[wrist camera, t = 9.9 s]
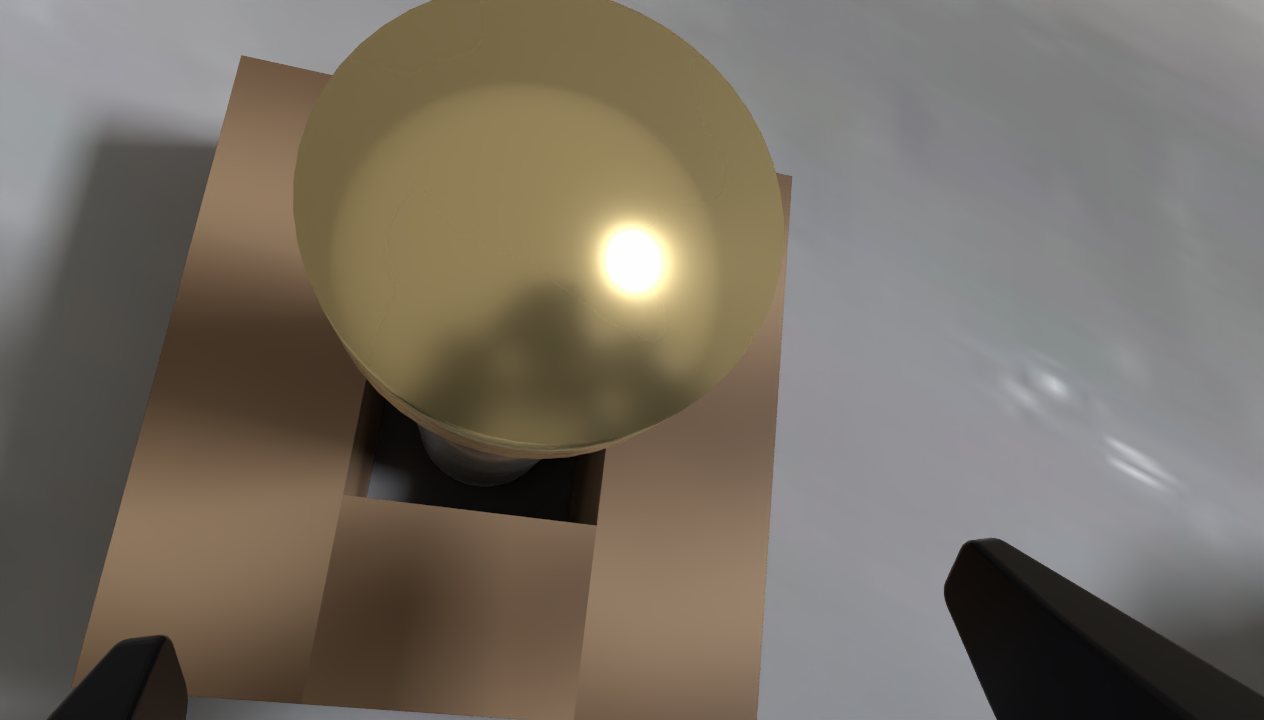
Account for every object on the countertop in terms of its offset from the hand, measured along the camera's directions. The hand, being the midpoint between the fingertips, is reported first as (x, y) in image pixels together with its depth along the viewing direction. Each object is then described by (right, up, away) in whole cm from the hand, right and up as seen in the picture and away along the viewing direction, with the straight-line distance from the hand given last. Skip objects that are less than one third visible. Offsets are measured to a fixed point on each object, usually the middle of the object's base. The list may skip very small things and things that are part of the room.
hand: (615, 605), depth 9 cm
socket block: (-3, +1, +10) cm, 11 cm away
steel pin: (-3, +1, +10) cm, 11 cm away
